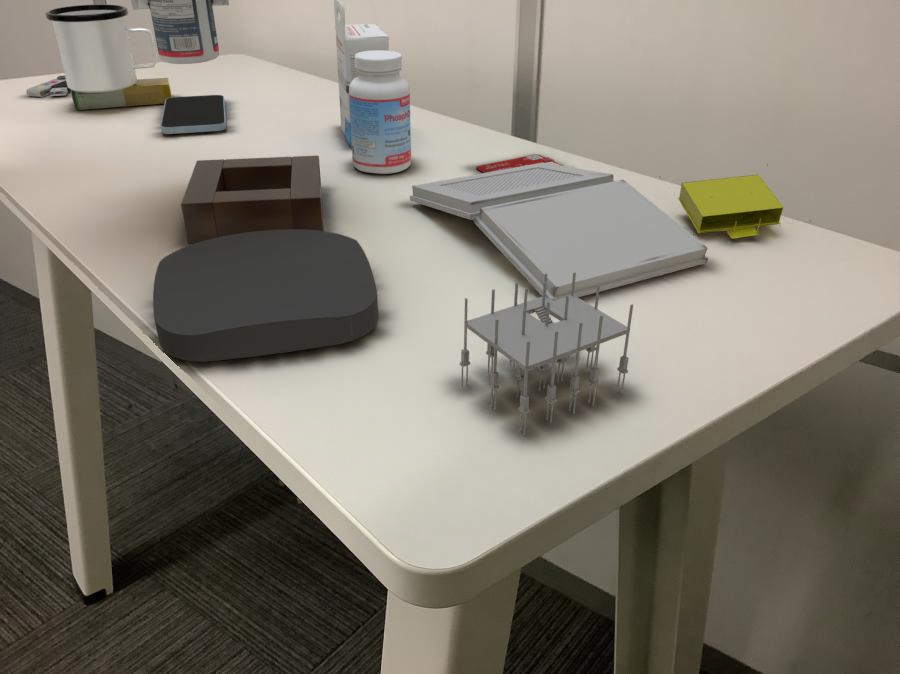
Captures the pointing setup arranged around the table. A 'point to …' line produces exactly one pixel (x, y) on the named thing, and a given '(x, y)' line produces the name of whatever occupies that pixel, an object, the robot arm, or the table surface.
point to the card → (515, 163)
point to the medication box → (126, 95)
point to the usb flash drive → (56, 89)
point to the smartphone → (193, 114)
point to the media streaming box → (263, 295)
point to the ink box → (352, 57)
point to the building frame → (545, 340)
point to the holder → (252, 196)
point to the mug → (96, 47)
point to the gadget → (568, 226)
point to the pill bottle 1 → (184, 30)
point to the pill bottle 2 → (380, 113)
